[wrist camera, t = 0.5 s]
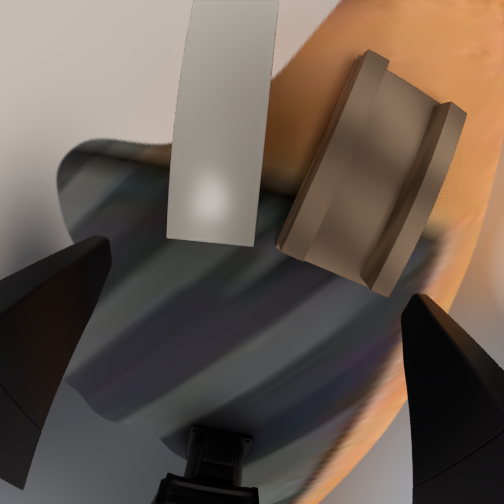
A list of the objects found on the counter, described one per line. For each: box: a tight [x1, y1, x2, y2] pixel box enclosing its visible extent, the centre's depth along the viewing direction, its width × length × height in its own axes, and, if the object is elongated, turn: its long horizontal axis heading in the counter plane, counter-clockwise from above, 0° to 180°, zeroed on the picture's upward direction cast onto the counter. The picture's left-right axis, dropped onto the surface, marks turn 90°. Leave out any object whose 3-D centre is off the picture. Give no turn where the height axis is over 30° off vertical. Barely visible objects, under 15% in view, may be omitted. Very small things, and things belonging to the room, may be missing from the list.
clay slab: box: [167, 0, 279, 247], centre depth 15 cm, size 12×4×10 cm, turn 174°
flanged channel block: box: [275, 49, 467, 297], centre depth 19 cm, size 15×8×4 cm, turn 157°
